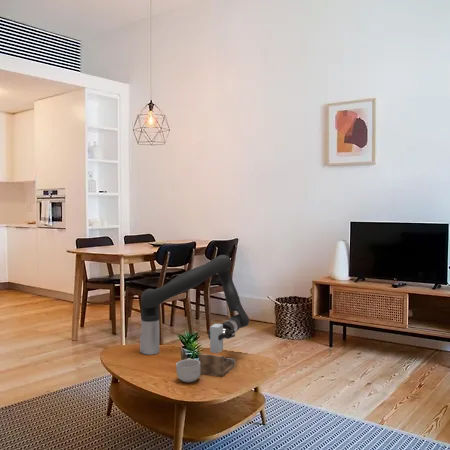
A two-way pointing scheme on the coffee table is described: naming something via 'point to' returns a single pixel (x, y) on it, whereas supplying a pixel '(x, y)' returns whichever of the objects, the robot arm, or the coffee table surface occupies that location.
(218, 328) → the tall grey pillar
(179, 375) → the teacup
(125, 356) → the coffee table surface
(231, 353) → the coffee table surface
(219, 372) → the track block
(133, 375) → the coffee table surface
